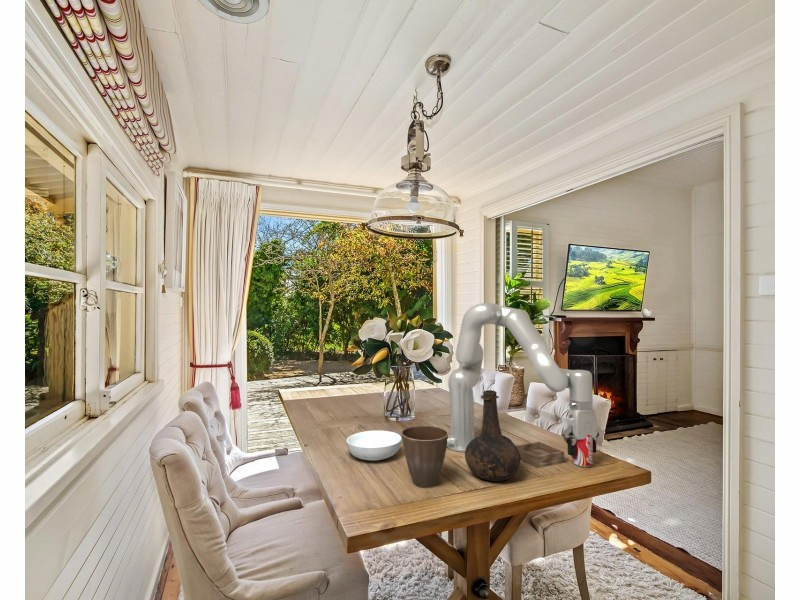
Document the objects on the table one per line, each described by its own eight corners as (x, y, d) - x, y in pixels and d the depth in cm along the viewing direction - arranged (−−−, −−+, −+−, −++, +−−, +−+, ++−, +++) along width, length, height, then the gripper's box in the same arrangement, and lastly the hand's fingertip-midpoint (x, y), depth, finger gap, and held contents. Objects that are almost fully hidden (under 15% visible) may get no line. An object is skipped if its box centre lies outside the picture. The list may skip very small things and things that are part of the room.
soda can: (584, 469, 135) (583, 434, 136) (567, 463, 141) (566, 429, 142) (597, 466, 138) (597, 431, 139) (580, 459, 145) (579, 426, 145)
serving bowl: (376, 443, 164) (376, 426, 164) (413, 456, 149) (412, 438, 149) (335, 456, 149) (335, 438, 150) (371, 472, 135) (371, 451, 135)
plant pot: (458, 485, 123) (458, 434, 124) (419, 498, 115) (419, 443, 116) (429, 470, 136) (429, 423, 136) (393, 480, 128) (392, 430, 128)
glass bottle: (532, 479, 128) (530, 392, 129) (492, 492, 118) (491, 399, 119) (492, 461, 143) (491, 384, 144) (454, 472, 134) (453, 389, 135)
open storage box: (536, 468, 137) (536, 457, 137) (510, 454, 150) (510, 445, 150) (567, 461, 142) (566, 452, 143) (539, 449, 155) (539, 440, 155)
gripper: (571, 410, 134) (572, 460, 133) (607, 405, 141) (608, 453, 140) (554, 405, 141) (555, 453, 140) (589, 400, 148) (590, 447, 147)
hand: (582, 453), depth 140 cm, fingers open, 9 cm apart
